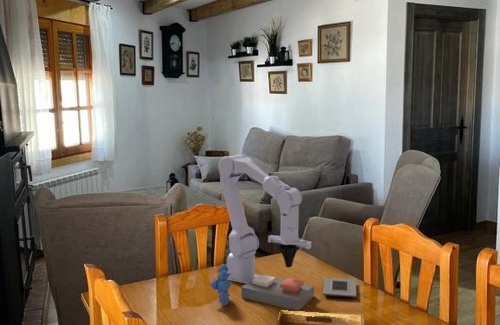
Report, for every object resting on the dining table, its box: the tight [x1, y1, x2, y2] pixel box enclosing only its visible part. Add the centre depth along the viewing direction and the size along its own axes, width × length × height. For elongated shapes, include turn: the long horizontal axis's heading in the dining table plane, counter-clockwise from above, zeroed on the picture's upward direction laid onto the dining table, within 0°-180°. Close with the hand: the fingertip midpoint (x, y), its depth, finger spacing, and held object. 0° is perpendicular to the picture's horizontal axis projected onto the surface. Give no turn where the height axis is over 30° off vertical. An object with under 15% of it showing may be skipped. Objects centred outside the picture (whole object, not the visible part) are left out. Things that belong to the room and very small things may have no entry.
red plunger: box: [280, 277, 305, 294], centre depth 158 cm, size 6×6×5 cm
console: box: [241, 274, 315, 311], centre depth 160 cm, size 20×12×4 cm, turn 61°
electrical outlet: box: [322, 277, 357, 299], centre depth 165 cm, size 13×10×2 cm
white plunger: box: [252, 273, 276, 288], centre depth 163 cm, size 6×6×5 cm
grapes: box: [210, 263, 232, 306], centre depth 156 cm, size 12×7×12 cm, turn 5°
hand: (289, 266), depth 162 cm, fingers closed
